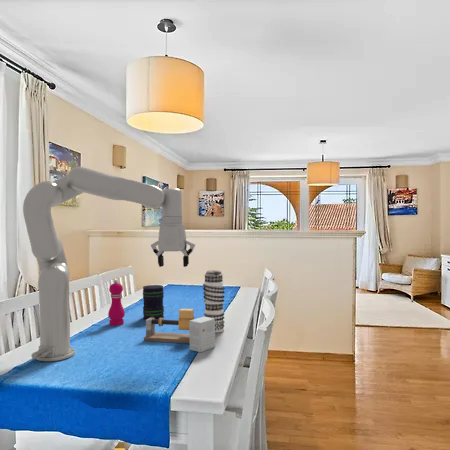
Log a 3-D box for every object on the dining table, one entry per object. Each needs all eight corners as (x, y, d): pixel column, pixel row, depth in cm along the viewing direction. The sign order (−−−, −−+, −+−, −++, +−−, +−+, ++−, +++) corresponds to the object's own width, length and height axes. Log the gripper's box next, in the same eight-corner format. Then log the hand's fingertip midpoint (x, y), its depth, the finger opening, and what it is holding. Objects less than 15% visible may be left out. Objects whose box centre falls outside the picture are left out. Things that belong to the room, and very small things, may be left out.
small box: (204, 344, 150) (203, 316, 149) (215, 347, 146) (215, 318, 146) (189, 349, 143) (188, 320, 143) (200, 352, 140) (200, 322, 140)
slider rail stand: (198, 343, 150) (198, 322, 150) (143, 340, 155) (143, 319, 155) (204, 337, 158) (204, 317, 158) (152, 334, 163) (151, 315, 163)
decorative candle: (200, 328, 172) (199, 270, 172) (220, 326, 175) (220, 268, 175) (207, 333, 164) (206, 272, 163) (228, 331, 167) (227, 271, 167)
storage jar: (160, 314, 199) (159, 284, 199) (166, 318, 191) (166, 287, 190) (140, 316, 194) (140, 286, 194) (146, 321, 186) (146, 289, 186)
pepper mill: (120, 326, 177) (119, 281, 177) (105, 325, 179) (104, 280, 178) (127, 322, 184) (126, 278, 184) (113, 321, 186) (112, 278, 186)
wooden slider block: (191, 330, 153) (190, 311, 153) (178, 329, 154) (178, 310, 154) (194, 327, 157) (194, 308, 157) (182, 326, 158) (182, 308, 158)
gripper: (146, 221, 150) (148, 267, 150) (191, 220, 147) (192, 267, 147) (154, 221, 158) (155, 265, 158) (196, 220, 154) (198, 265, 154)
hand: (173, 266), depth 152 cm, fingers open, 9 cm apart
